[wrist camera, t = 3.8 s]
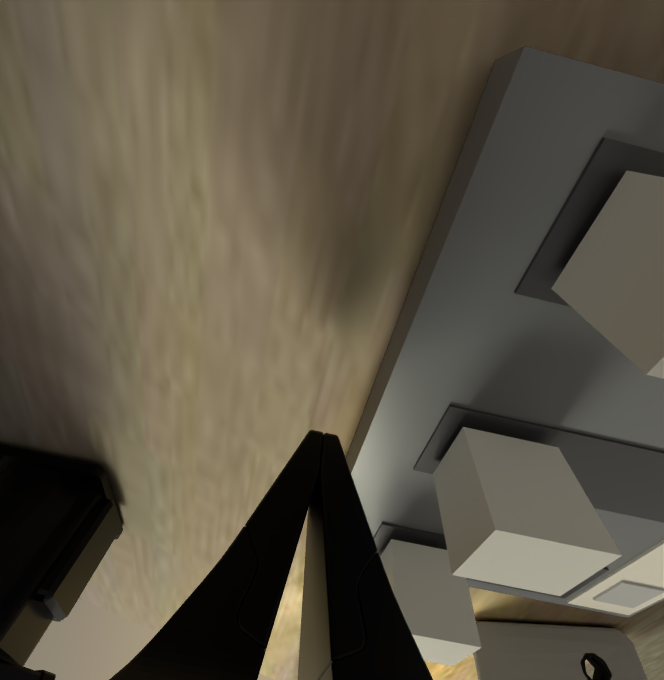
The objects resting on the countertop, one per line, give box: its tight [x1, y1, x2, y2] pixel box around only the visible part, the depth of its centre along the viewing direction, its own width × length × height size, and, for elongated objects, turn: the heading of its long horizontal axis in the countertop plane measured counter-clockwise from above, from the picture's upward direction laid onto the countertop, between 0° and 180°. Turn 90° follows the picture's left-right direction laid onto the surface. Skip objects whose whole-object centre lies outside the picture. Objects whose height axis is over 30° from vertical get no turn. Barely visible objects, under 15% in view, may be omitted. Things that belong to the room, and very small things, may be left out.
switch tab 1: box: [380, 539, 482, 666], centre depth 13 cm, size 3×2×3 cm
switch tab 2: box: [433, 427, 622, 596], centre depth 9 cm, size 3×2×3 cm
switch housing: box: [346, 46, 664, 618], centre depth 12 cm, size 16×19×2 cm
